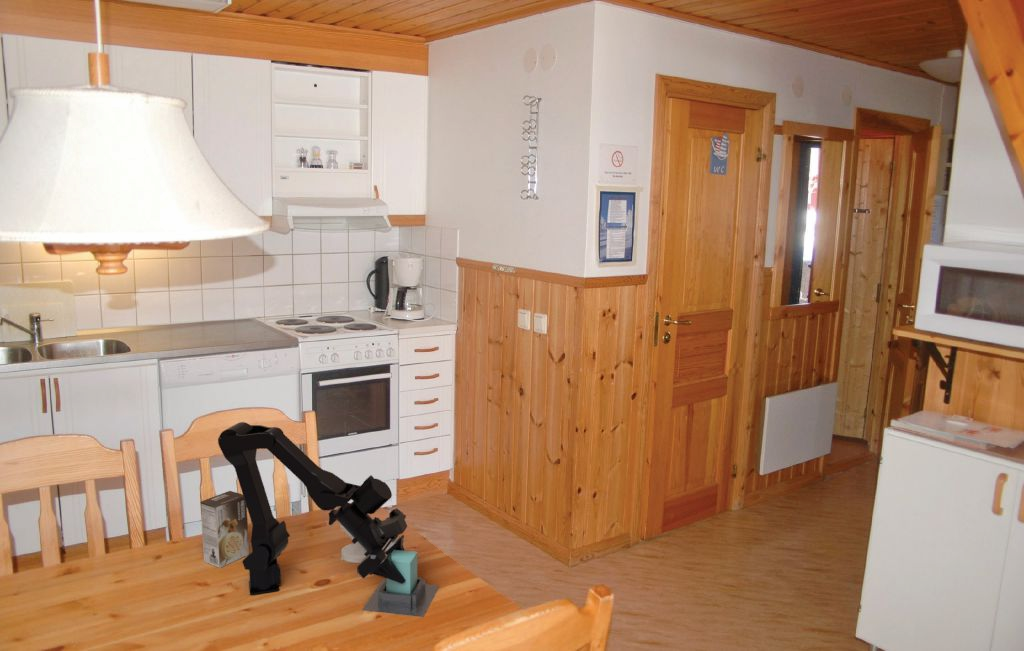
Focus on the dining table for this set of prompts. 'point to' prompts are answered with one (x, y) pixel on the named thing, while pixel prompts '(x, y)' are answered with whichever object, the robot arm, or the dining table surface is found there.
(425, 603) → the socket holder
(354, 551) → the wall hook
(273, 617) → the dining table surface
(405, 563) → the teal block
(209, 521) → the coffee box
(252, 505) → the robot arm
